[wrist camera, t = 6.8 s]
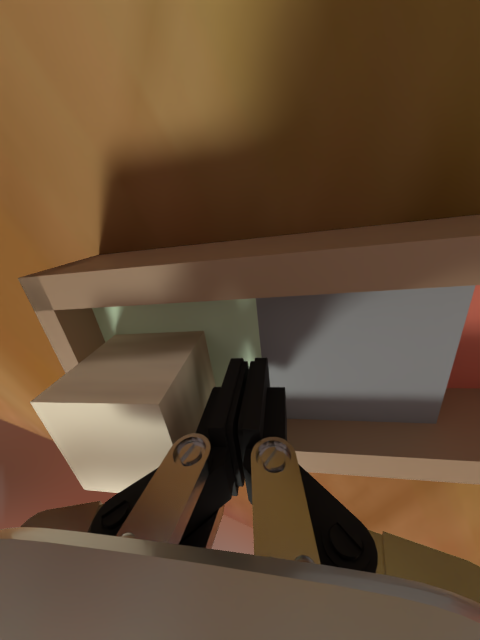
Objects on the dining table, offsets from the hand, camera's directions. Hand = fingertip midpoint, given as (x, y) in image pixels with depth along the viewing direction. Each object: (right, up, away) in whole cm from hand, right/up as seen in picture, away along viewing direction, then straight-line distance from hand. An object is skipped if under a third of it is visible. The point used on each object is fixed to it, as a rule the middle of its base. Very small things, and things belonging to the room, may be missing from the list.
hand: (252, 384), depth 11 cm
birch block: (-5, 0, +2) cm, 5 cm away
